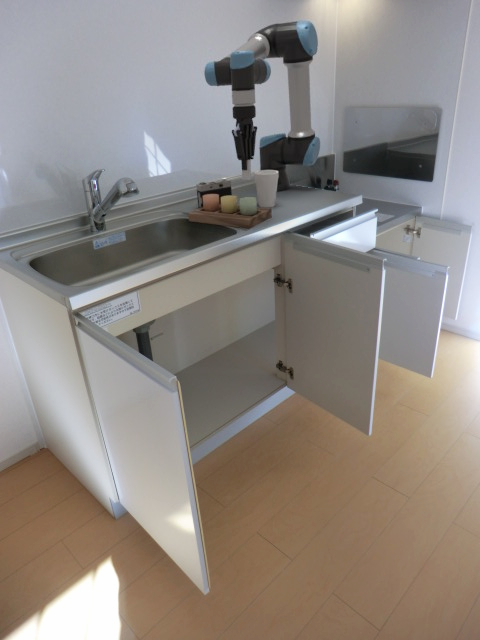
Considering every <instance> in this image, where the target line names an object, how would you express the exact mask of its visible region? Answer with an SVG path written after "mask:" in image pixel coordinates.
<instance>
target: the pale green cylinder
mask: <svg viewBox="0 0 480 640" xmlns="http://www.w3.org/2000/svg"><path fill="white" fill-rule="evenodd" d="M238 201H239V206H240V214H241V215H254V214H256V213H257V208H258V206H257V198H256V197H253V196H245V197H241V198H239V200H238Z"/></svg>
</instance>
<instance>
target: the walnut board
mask: <svg viewBox="0 0 480 640" xmlns="http://www.w3.org/2000/svg"><path fill="white" fill-rule="evenodd" d="M219 205H220V209H219V210H216V211H205V210H204V207H202V208H197V209H195V210H192V211H190V212H188V221H189V222H193V223H200V224H201V223H202V224H210V225H217V226H227V227H232V228H233V227H234V228H235V227H236V228H242V229H251V228H253V227H255V226H257V225H260V224H261V223H263V222H265V221H266V220H269V219H270V218H272V216H273V215H272V208H268V207H257V213H256V214H254V215H241V214H240V205H238V211H237V212H234V213H223V212H222V210H221V204H219Z"/></svg>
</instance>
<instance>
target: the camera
mask: <svg viewBox="0 0 480 640" xmlns="http://www.w3.org/2000/svg"><path fill="white" fill-rule="evenodd" d="M195 187H196V196H197V197H196V198H197V206H198V207H197V209H200V208H202V207H203V195H207V194H218V195H219V204H221V197H223V196H229V195H233V194H232V193H233V192H232V181H231V180H230V179H225V178H223V179H220V180H213V181H206V182H205V181H204V182H203V181H202V182H199V183H196V186H195Z"/></svg>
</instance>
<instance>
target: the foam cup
mask: <svg viewBox="0 0 480 640" xmlns="http://www.w3.org/2000/svg"><path fill="white" fill-rule="evenodd" d="M253 174H254V175H253V176H254V182H255V189H256V194H257V201H258V206H259V208H272V207H274V206H276V199H277V192H278V191H277V183H278V178H279V173H278V171H276V170H261V171H260V170H256V171H254V173H253Z"/></svg>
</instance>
